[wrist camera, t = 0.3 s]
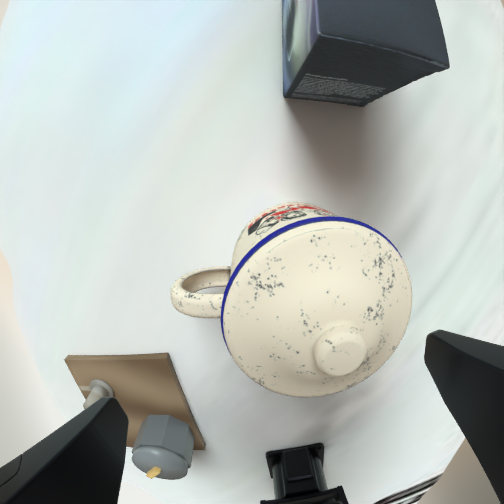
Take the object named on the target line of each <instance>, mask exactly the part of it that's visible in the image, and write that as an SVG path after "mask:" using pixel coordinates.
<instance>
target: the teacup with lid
mask: <svg viewBox="0 0 504 504" xmlns="http://www.w3.org/2000/svg"><path fill="white" fill-rule="evenodd" d="M224 286H226V289H225V292H224V294H201V293H195V292H197V291H199V290H202V289H206V288H211V287H224ZM171 301H172V304H173V306H174V308H175V309H176V310H178V311H179V312H181V313H183V314H185V315H188V316H192V317H198V318H221V328H222V333H223V337H224V341H225V343H226V346H227V348H228V350H229V352H230V354H231V356H232V357H233V359H234V361H235V362H236V364H237V365H238V366H239V367H240V369H241V370H242V371H243V372H244V373H245V374H246V375H247V376H248V377H250V378H251V379H252V380H253V381H255V382H256V383H258V384H260V385H261V386H263V387H265V388H267V389H269V390H271V391H274V392H277V393H280V394H284V395H289V396H295V397H317V396H324V395H329V394H333V393H337V392H340V391H343V390H345V389H348V388H350V387H352V386H354V385H356V384H358V383H360V382H361V381H363V380H365V379H366V378H368V377H369V376H370V375H372V374H373V373H374V372H376V371H377V370H378V369H379V368H380V367H381V366H382V365H383V364H384V363H385V362H386V361H387V360H388V359H389V357H390V356H391V355H392V354H393V352H394V351H395V349H396V348H397V346H398V345H399V343H400V341H401V340H402V337H403V335H404V333H405V331H406V328H407V326H408V322H409V319H410V314H411V308H412V287H411V281H410V277H409V273H408V270H407V267H406V265H405V263H404V261H403V259H402V257H401V255H400V253H399V252H398V250H397V249H396V247H395V246H394V245H393V244H392V243H391V241H390V240H389V239H387V238H386V237H385V236H384V235H383V234H382V233H380V232H379V231H378V230H376V229H374V228H373V227H371V226H369V225H367V224H365V223H362V222H360V221H357V220H353V219H349V218H344V217H338V216H336V215H334V214H332V213H330V212H328V211H326V210H324V209H322V208H320V207H317V206H314V205H311V204H307V203H298V202H292V203H283V204H279V205H276V206H273V207H270V208H268V209H266V210H264V211H263V212H261V213H260V214H258V215H257V216H255V217H254V218H253V219H252V220H251V221H250V222H249V223H248V224H247V225H246V227H245V228H244V229H243V231H242V232H241V234H240V236H239V237H238V240H237V242H236V245H235V248H234V252H233V258H232V266H230V267H211V268H204V269H199V270H196V271H193V272H190V273H188V274H185V275H184V276H182V277H180V278H179V279H178V280H176V281H175V283H174V284H173V285H172V288H171Z"/></svg>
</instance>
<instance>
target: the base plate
mask: <svg viewBox="0 0 504 504" xmlns="http://www.w3.org/2000/svg"><path fill="white" fill-rule="evenodd" d="M65 362H66V364H67V366H68V368H69V370H70V372H71V374H72V375H73V377H74V379H75V381H76V383H77V385H78V387H79V388H80V390H81V392H82V394H83V395H84V397H85V399H86V401H85V403H84V404H83V407H84V409H87V408H88V407H89V406H91V405H92V404H93V403H95V402H96V401H98V400H99V399H100V398H102V397H115V398H116V399H117V400H118V402H119V403H120V405H121V407H122V408H123V410H124V411H125V413H126V415H127V417H128V420H129V425H128V434H127V444H126V447H134V444H135V441H136V438H137V435H138V432H139V429H140V426H141V424H142V422H143V421H144V420H145V419H146V418H147V417H148V415H171V416H173V417H174V418H176V419H178V420H180V421H183V422H185V423H187V424H189V426H190V428H191V430H192V432H193V435H194V437H195V439H194V446H193V450H205V443H204V441H203V439H202V436H201V434H200V432H199V430H198V428H197V425H196V423H195V421H194V418H193V416H192V414H191V411H190V409H189V406H188V404H187V402H186V399H185V397H184V394H183V392H182V389H181V387H180V384H179V381H178V379H177V376H176V373H175V371H174V368H173V365H172V362H171V360H170V357H169V354H168V353H156V354H137V355H68V356H67V357H66V358H65Z"/></svg>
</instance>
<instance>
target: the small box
mask: <svg viewBox="0 0 504 504" xmlns="http://www.w3.org/2000/svg"><path fill="white" fill-rule="evenodd" d="M282 43H283V96H284V97H285V98H295V99H305V100H315V101H324V102H333V103H341V104H347V105H354V106H360V107H364V106H365V105H367V104H368V103H370V102H372V101H374V100H375V99H378V98H380V97H382V96H383V95H386V94H388V93H390V92H392V91H395V90H397V89H399V88H401V87H403V86H406V85H407V84H409V83H411V82H413V81H416V80H418V79H420V78H422V77H425V76H428V75H431V74H433V73H435V72H440V71H443V70H446V69H449V67H450V66H449V58H448V53H447V48H446V43H445V38H444V34H443V29H442V25H441V21H440V17H439V13H438V9H437V6H436V2H435V0H282Z"/></svg>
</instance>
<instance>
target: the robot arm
mask: <svg viewBox="0 0 504 504" xmlns="http://www.w3.org/2000/svg"><path fill="white" fill-rule="evenodd" d="M424 360H425V364H426V366H427V368H428V370H429V372H430V374H431V376H432V378H433V380H434V382H435V384H436V386H437V388H438V390H439V392H440V394H441V396H442V398H443V400H444V402H445V404H446V406H447V407H448V409H449V411H450V412H451V414H452V415H453V417H454V419H455V420H456V422H457V424H458V425H459V427H460V429H461V430H462V432H463V434H464V435H465V437H466V439H467V440H468V442H469V444H470V446H471V447H472V449H473V451H474V453H475V454H476V456H477V458H478V460H479V462H480V464H481V465H482V467H483V469H484V471H485V473H486V475H487V477H488V479H489V480H490V483H491V485H492V486H493V489H494V491H495V493H496V495H497V497H498V499H499V501H500V503H501V504H504V346H501V345H497V344H493V343H489V342H485V341H481V340H478V339H474V338H470V337H466V336H462V335H459V334H455V333H451V332H448V331H444V330H437V331H434V332H432V333H429V334H428V335H427V338H426V346H425V355H424ZM128 425H129V420H128V417H127V415H126V413H125V411H124V410H123V408H122V407H121V405H120V403H119V402H118V400H117V399H116V398H115V397H102V398H100V399H99V400H98V401H96V402H95V403H93V404H92V405H91V406H89V407H88V408H87V409H85V410H84V411H82V412H81V413H80V414H78V415H77V416H75V417H74V418H73V419H71V420H70V421H68V422H67V423H66V424H64V425H63V426H62V427H60V428H59V429H57V430H56V431H54V432H53V433H52V434H50V435H49V436H47V437H46V438H44V439H43V440H41V441H40V442H39V443H37V444H36V445H34V446H33V447H32V448H30V449H29V450H27V451H25V452H24V453H23V454H21V455H19V456H18V457H16V458H15V459H13V460H12V461H10V462H9V463H7V464H6V465H4V466H2V467H1V468H0V504H117V502H118V496H119V491H120V485H121V480H122V475H123V470H124V464H125V454H126V444H127V434H128ZM323 458H324V445H323V444H322V443H318V444H313V445H308V446H303V447H297V448H291V449H284V450H277V451H270V452H267V453H266V459H267V463H268V467H269V471H270V475H271V478H272V479H273V481H274V491H275V500H267V501H266V500H261V501H260V504H348V501H347V498H346V496H345V493H344V490H343V487H342V485H341V486H338V487H337V488H333V489H329V490H328V488H327V484H326V480H325V476H324V472H323Z"/></svg>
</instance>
